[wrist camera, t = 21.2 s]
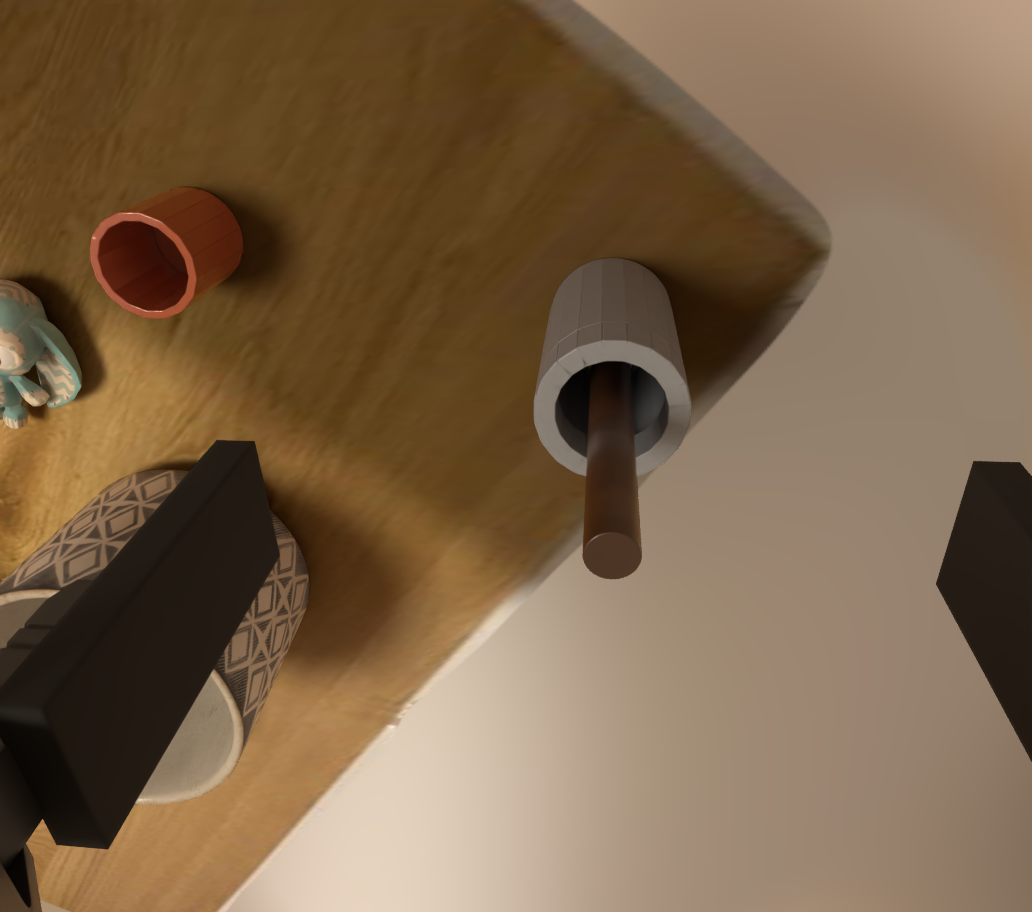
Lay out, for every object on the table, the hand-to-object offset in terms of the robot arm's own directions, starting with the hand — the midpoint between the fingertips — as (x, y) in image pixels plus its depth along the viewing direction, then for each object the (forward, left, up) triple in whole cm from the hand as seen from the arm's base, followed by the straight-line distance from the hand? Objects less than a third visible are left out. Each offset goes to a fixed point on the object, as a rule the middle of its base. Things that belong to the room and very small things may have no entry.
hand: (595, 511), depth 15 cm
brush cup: (+26, +5, -37) cm, 46 cm away
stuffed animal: (+41, +13, -37) cm, 57 cm away
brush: (-1, +10, -37) cm, 38 cm away
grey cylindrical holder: (-1, +10, -37) cm, 38 cm away
